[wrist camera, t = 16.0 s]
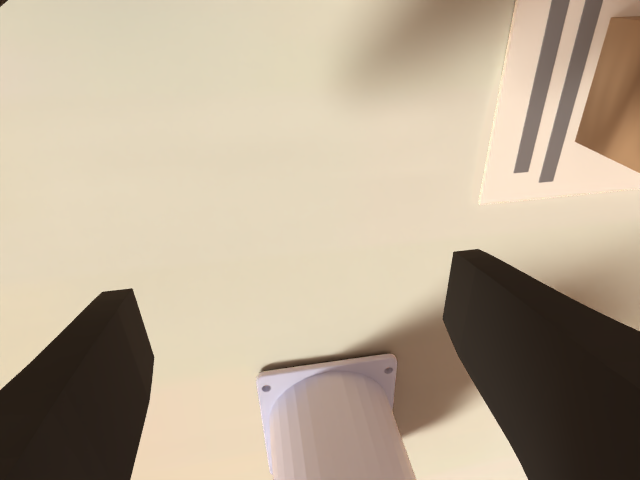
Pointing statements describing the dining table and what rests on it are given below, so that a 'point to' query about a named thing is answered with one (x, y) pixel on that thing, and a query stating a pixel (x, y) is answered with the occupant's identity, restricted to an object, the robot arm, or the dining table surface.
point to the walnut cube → (615, 96)
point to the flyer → (551, 104)
